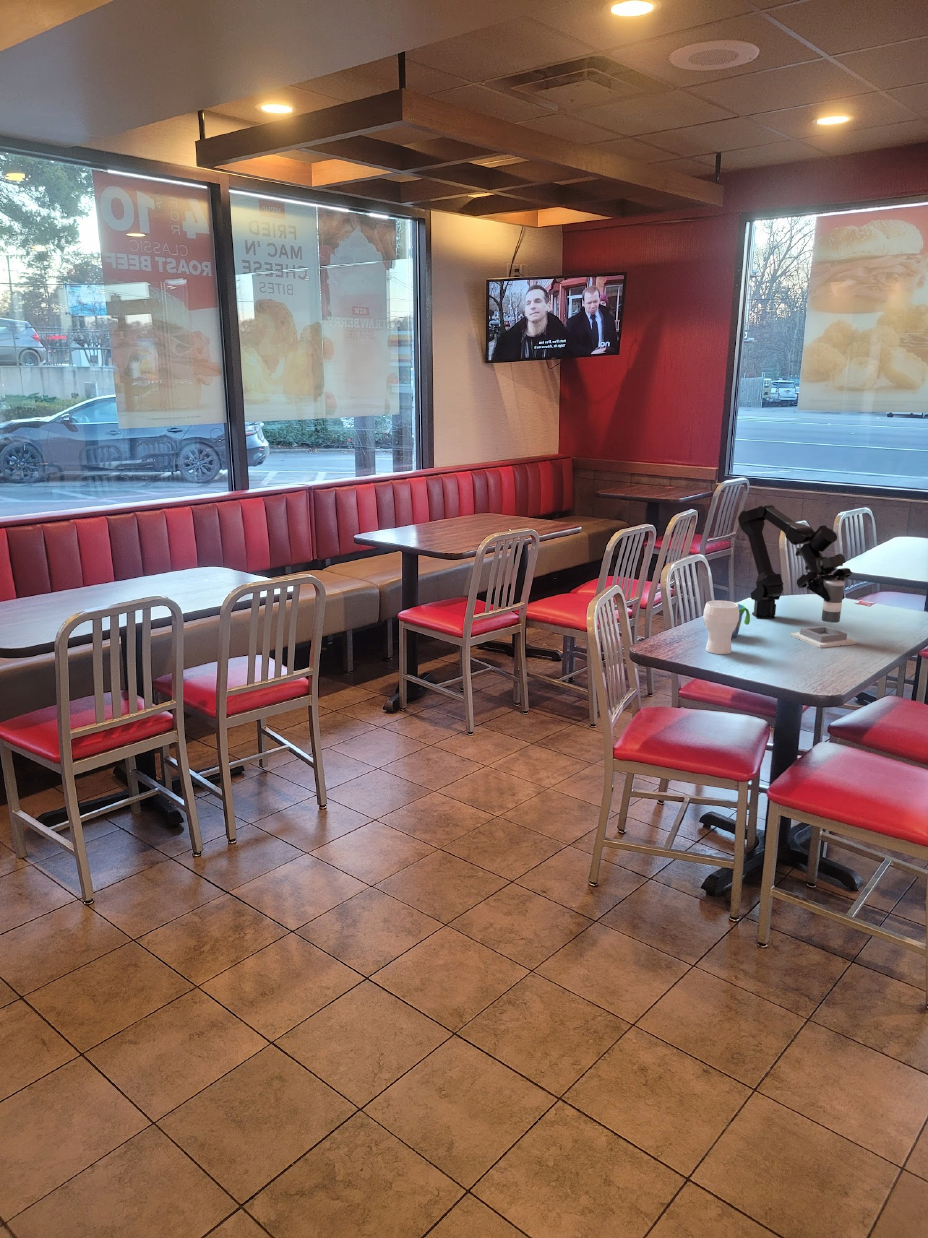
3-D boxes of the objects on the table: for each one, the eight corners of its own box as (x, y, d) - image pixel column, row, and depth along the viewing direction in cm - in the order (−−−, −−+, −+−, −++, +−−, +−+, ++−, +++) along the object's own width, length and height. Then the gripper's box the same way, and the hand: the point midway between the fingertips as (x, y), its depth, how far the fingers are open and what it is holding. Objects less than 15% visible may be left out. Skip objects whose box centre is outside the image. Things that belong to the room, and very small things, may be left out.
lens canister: (820, 621, 289) (824, 582, 286) (822, 617, 294) (826, 578, 291) (839, 623, 287) (843, 583, 283) (840, 619, 292) (845, 580, 288)
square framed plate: (790, 636, 295) (791, 627, 295) (825, 632, 300) (826, 623, 299) (819, 648, 283) (820, 638, 282) (855, 643, 287) (856, 634, 286)
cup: (712, 657, 274) (715, 609, 270) (694, 647, 283) (697, 601, 279) (742, 654, 276) (747, 607, 272) (724, 644, 286) (728, 599, 282)
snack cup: (741, 630, 302) (743, 600, 300) (755, 639, 292) (758, 608, 290) (697, 631, 300) (699, 602, 298) (709, 640, 290) (711, 610, 288)
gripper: (806, 547, 284) (829, 589, 277) (851, 543, 291) (874, 583, 284) (786, 567, 293) (807, 607, 286) (830, 562, 300) (852, 602, 293)
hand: (836, 600), depth 287 cm, fingers closed on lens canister, 5 cm apart
